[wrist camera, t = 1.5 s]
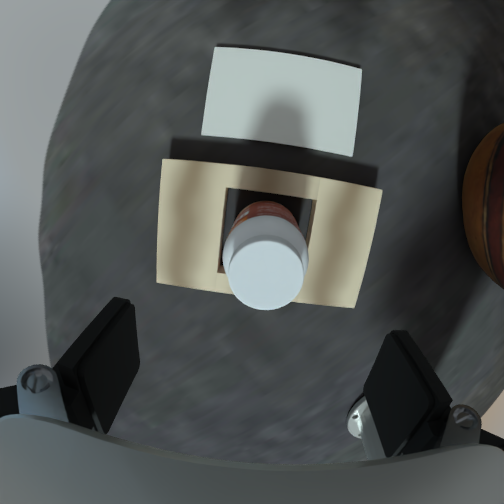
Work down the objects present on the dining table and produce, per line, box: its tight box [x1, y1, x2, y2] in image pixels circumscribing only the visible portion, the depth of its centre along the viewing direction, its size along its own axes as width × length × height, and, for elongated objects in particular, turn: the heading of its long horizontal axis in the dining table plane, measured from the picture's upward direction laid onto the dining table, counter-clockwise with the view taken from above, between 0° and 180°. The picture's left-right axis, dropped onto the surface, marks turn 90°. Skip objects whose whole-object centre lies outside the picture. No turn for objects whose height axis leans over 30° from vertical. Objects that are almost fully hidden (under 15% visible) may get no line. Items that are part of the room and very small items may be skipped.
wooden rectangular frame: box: [157, 159, 382, 308], centre depth 27 cm, size 20×12×2 cm, turn 83°
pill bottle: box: [223, 201, 309, 310], centre depth 23 cm, size 6×6×11 cm
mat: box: [201, 47, 362, 157], centre depth 24 cm, size 14×9×1 cm, turn 83°
